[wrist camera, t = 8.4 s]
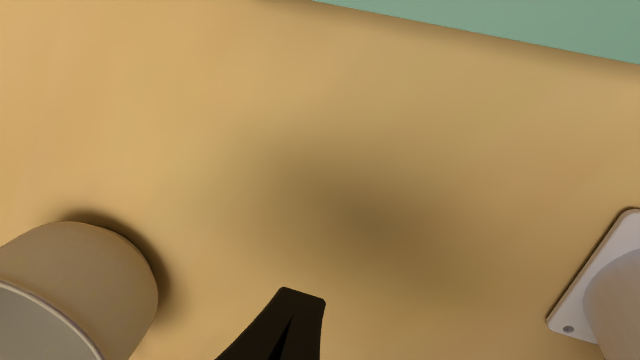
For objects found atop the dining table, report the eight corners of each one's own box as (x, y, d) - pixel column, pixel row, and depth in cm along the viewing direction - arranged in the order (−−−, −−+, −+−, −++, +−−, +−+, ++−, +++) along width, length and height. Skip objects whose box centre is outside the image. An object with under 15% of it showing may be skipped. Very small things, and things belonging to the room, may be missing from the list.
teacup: (44, 177, 25) (-97, 251, 18) (187, 236, 24) (95, 336, 18) (63, 305, 32) (-33, 391, 26) (174, 354, 32) (105, 456, 25)
